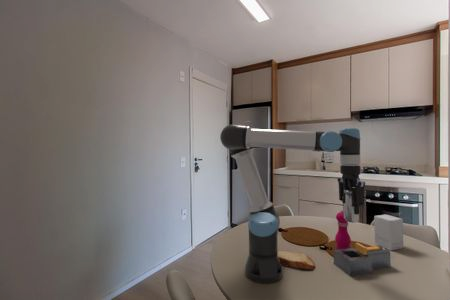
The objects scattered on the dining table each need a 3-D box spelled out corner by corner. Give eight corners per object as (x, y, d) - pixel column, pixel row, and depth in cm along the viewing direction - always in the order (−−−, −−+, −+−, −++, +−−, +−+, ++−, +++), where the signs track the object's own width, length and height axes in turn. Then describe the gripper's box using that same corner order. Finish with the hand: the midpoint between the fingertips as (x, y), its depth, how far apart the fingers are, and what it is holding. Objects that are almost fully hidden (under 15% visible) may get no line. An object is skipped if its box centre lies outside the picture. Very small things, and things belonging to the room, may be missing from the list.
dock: (350, 276, 89) (349, 258, 89) (333, 263, 99) (333, 247, 99) (395, 270, 93) (395, 253, 93) (375, 258, 102) (375, 243, 102)
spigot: (350, 223, 92) (349, 191, 92) (341, 219, 97) (341, 189, 97) (360, 222, 93) (360, 191, 93) (351, 218, 98) (351, 189, 98)
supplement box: (404, 248, 112) (404, 218, 112) (391, 251, 110) (390, 220, 110) (386, 241, 121) (386, 213, 121) (374, 243, 118) (373, 215, 118)
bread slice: (262, 256, 107) (262, 248, 107) (295, 251, 112) (295, 243, 112) (283, 277, 90) (282, 267, 90) (320, 269, 95) (320, 260, 95)
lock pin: (364, 255, 93) (364, 247, 93) (355, 249, 98) (355, 243, 98) (383, 253, 94) (383, 245, 94) (373, 247, 99) (373, 241, 99)
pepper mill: (334, 250, 111) (334, 210, 111) (335, 244, 118) (334, 206, 118) (351, 253, 108) (350, 212, 108) (351, 247, 114) (350, 208, 114)
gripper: (374, 166, 87) (375, 225, 87) (344, 163, 104) (344, 213, 104) (357, 166, 86) (358, 227, 86) (329, 163, 102) (330, 214, 102)
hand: (351, 219), depth 95 cm, fingers closed on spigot, 4 cm apart
